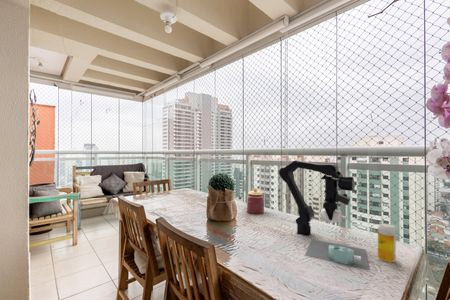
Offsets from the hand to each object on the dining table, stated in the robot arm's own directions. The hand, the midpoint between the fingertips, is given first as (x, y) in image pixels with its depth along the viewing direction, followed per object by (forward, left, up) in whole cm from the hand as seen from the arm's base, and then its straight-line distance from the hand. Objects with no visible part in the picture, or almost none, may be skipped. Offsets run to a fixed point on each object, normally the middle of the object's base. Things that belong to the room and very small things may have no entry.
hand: (331, 218), depth 113 cm
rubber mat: (+3, -14, -12) cm, 18 cm away
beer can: (+22, -10, -12) cm, 27 cm away
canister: (-53, +30, -12) cm, 62 cm away
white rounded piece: (+1, 0, -1) cm, 2 cm away
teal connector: (+6, -21, -11) cm, 24 cm away
